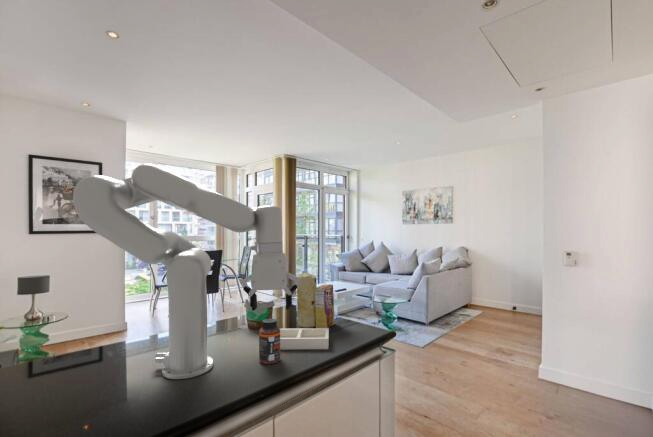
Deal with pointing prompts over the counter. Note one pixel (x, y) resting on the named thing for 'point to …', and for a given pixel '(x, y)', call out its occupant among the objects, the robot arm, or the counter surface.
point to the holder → (304, 338)
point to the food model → (306, 300)
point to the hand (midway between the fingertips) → (271, 308)
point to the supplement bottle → (269, 342)
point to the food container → (258, 313)
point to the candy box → (324, 306)
